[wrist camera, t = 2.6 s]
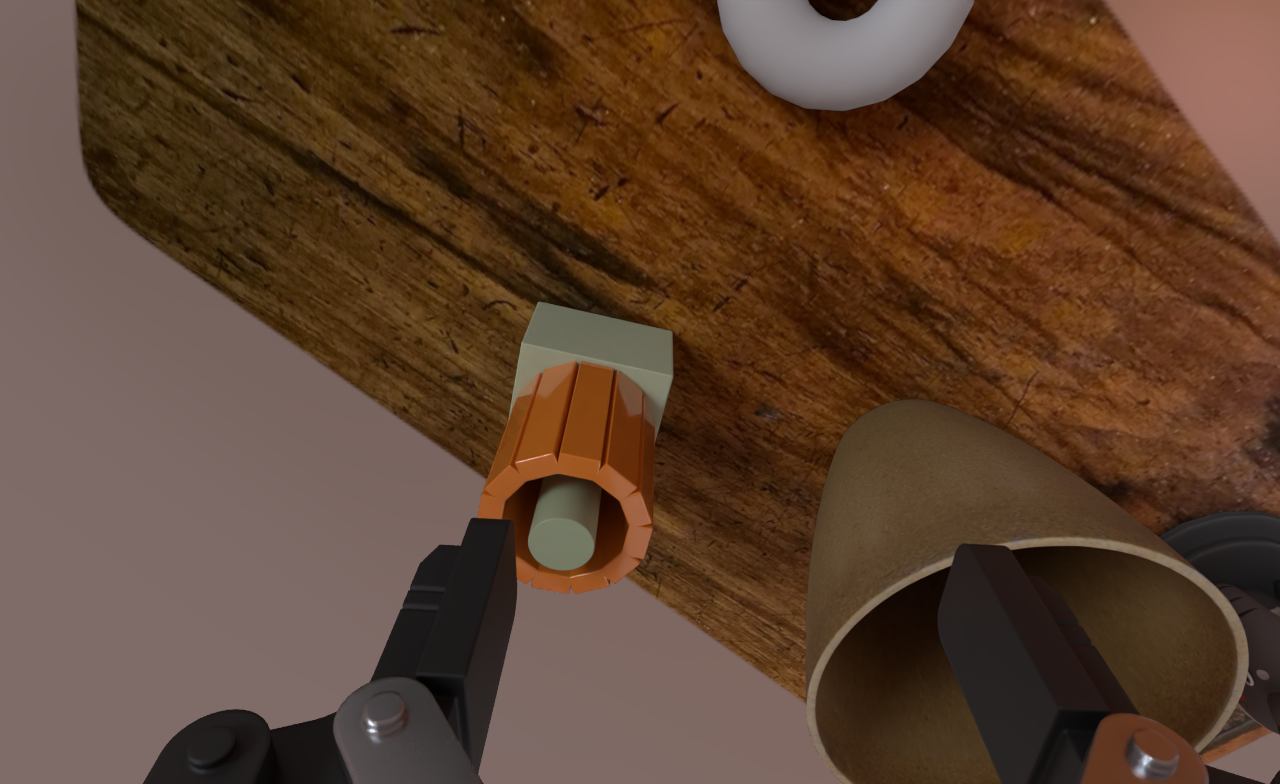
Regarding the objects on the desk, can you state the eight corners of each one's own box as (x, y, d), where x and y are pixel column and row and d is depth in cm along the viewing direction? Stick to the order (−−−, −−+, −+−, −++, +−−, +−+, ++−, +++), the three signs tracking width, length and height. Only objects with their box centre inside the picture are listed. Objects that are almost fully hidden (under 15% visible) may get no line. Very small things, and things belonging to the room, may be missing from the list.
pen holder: (504, 467, 36) (468, 575, 29) (525, 347, 33) (490, 438, 26) (636, 494, 36) (629, 607, 30) (668, 379, 34) (669, 475, 27)
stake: (517, 417, 40) (456, 596, 29) (538, 300, 37) (479, 447, 25) (642, 443, 41) (632, 630, 29) (672, 330, 38) (676, 488, 26)
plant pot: (899, 274, 36) (1049, 458, 22) (1102, 436, 40) (1341, 681, 26) (703, 480, 42) (723, 730, 28) (896, 604, 46) (1000, 879, 32)
